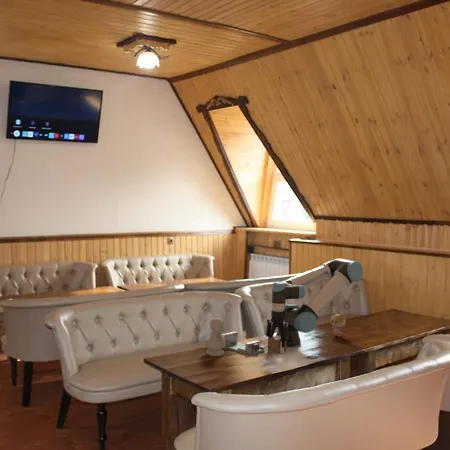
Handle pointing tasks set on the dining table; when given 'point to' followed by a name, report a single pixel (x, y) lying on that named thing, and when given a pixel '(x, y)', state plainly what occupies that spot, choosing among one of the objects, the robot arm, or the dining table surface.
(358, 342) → the dining table surface
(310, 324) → the robot arm
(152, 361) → the dining table surface
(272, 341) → the block
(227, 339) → the vise
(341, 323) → the toy
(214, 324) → the figurine
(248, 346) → the slide jaw
